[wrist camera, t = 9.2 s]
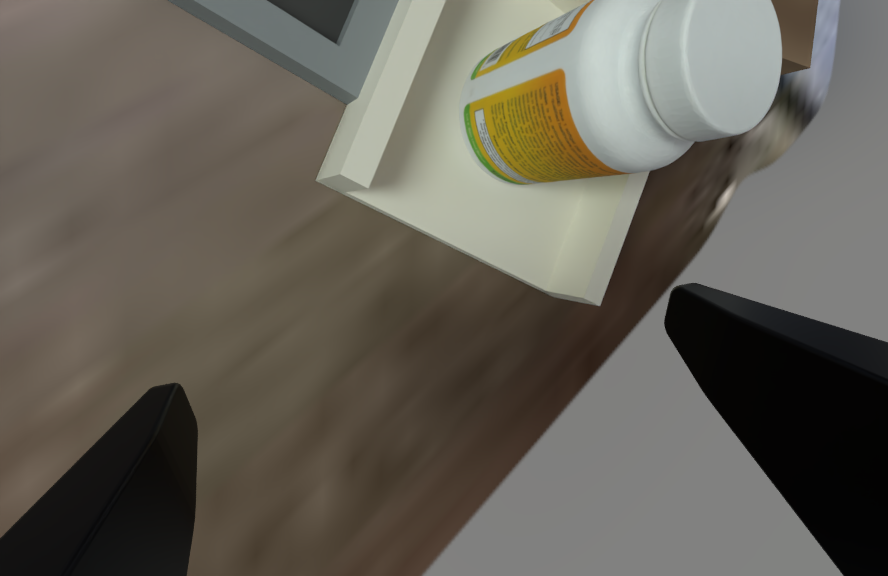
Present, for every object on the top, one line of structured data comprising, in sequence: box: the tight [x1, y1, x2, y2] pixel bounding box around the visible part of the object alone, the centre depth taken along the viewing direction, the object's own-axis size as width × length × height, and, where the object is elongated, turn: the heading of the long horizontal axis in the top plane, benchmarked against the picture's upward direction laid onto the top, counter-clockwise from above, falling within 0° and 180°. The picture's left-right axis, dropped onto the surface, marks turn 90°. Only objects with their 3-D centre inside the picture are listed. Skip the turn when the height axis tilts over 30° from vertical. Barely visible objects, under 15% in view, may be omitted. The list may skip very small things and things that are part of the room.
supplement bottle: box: [459, 0, 782, 185], centre depth 17 cm, size 5×5×10 cm
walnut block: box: [771, 0, 818, 75], centre depth 26 cm, size 4×4×4 cm
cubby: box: [316, 0, 650, 306], centre depth 21 cm, size 12×12×3 cm
